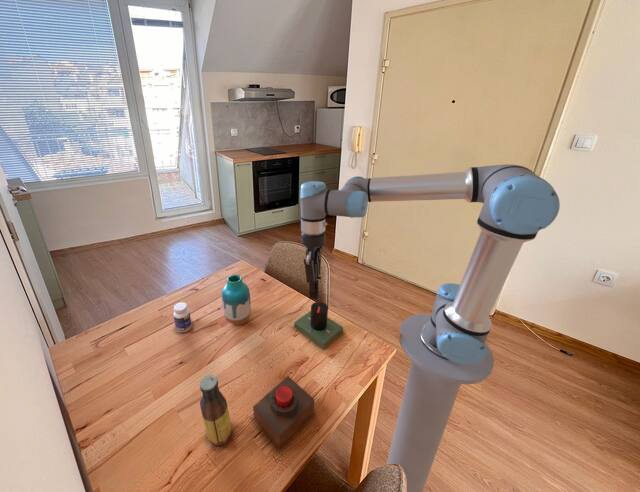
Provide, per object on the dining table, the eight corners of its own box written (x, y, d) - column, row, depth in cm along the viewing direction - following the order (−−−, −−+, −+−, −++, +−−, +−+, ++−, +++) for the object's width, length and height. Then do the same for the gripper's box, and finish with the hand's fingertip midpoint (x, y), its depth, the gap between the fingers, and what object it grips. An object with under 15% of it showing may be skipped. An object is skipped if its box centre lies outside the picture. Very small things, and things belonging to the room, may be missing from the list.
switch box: (287, 388, 87) (287, 370, 84) (313, 412, 80) (314, 394, 77) (253, 419, 79) (252, 401, 76) (279, 449, 72) (279, 430, 69)
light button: (284, 388, 80) (284, 382, 79) (295, 399, 77) (295, 393, 76) (272, 398, 77) (272, 393, 76) (283, 410, 74) (283, 405, 73)
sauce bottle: (232, 420, 79) (225, 368, 71) (231, 445, 73) (224, 392, 65) (207, 423, 78) (198, 371, 70) (204, 449, 72) (194, 395, 64)
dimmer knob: (311, 317, 111) (312, 299, 107) (327, 320, 109) (329, 302, 106) (308, 328, 105) (309, 310, 102) (325, 332, 104) (326, 313, 100)
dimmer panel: (342, 332, 107) (343, 327, 106) (323, 349, 100) (323, 343, 99) (313, 313, 116) (313, 308, 115) (294, 327, 109) (294, 321, 108)
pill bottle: (189, 333, 107) (185, 311, 103) (173, 332, 108) (169, 311, 103) (193, 321, 113) (190, 301, 109) (179, 321, 113) (175, 301, 109)
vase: (256, 313, 117) (253, 273, 109) (244, 332, 107) (241, 289, 100) (232, 307, 120) (228, 268, 112) (219, 325, 111) (213, 283, 103)
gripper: (319, 240, 84) (319, 310, 91) (330, 226, 95) (329, 289, 103) (294, 237, 87) (296, 306, 94) (308, 224, 98) (309, 286, 105)
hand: (313, 297), depth 98 cm, fingers closed
